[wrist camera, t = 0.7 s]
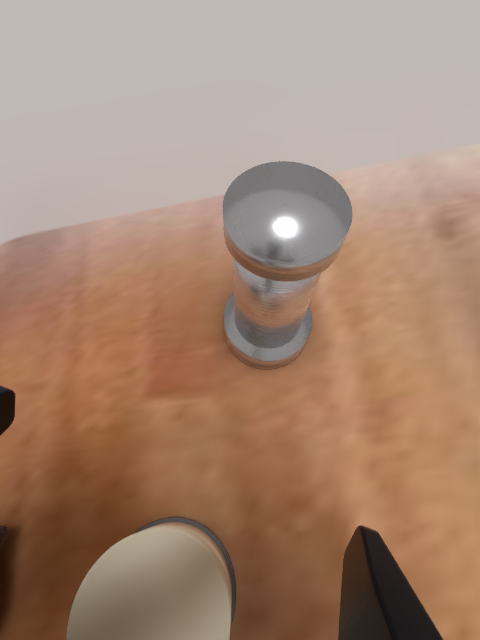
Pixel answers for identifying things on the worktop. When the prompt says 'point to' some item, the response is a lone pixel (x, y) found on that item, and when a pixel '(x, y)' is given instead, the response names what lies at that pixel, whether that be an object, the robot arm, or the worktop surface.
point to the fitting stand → (158, 587)
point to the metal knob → (279, 256)
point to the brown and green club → (2, 533)
